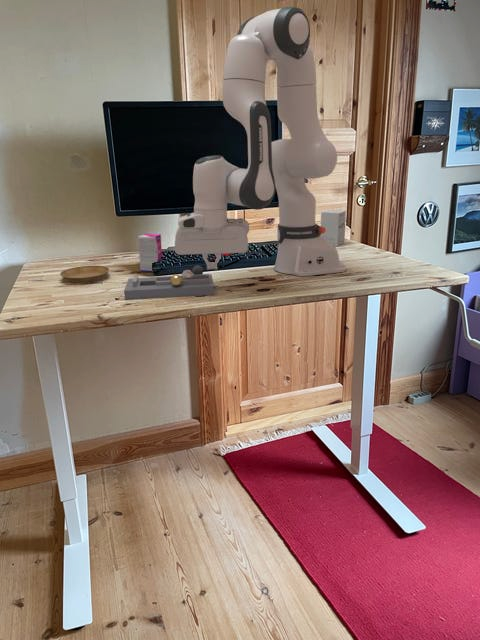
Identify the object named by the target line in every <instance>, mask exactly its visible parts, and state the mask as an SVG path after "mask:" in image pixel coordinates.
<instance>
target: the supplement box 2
mask: <svg viewBox="0 0 480 640" xmlns="http://www.w3.org/2000/svg"><path fill="white" fill-rule="evenodd" d="M346 215H347V210H343V209H342V210H341V209H339V210H338V209H327V210H324V211H321V212H320V226H323V227H324V228H325V230H326V232H324V234H321V235H320V236H322V237H323V238H324V239H325V240H327V241H328V242H329V243H330V244H332V245H333V246H334V247H335V248H337V247H339V246H341V245H343V244H345V236H346V235H345V234H346V222H347V221H346V218H347V217H346Z"/></svg>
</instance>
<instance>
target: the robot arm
mask: <svg viewBox="0 0 480 640" xmlns="http://www.w3.org/2000/svg"><path fill="white" fill-rule="evenodd" d="M310 38H311V26H310V21H309V19H308V16H307V14H306V13H305V11H303V9H302V8H299V7H296V6H284V7H282V8H276V9H271V10H268V11H267V10H266V11H265V12H264V13H261V14H259V15H257V16H254V17H250V18H247V20H246V21H244V22H243V23H242V25H240V27H239V29H238V31H237V34H236V35H235V36H234V37H232V38H231V40H230V41H229V42H228V45H227V50H226V55H225V60H224V66H223V74H222V75H223V76H222V85H221V86H222V88H221V89H222V91H221V92H222V93H221V94H222V95H221V97H222V105H223V108H225V111H226V112H227V113H228V114H229V115H230V116H231V117H232V118H233V119H235V120H236V121H238V122H239V123H240V124H241V125H242V126H243V127H244V129H245V132H246V135H247V157H248V158H247V159H248V160H247V161H248V165H247V168H241V167H238V166H236V165H235V164H234V165H233V164H232V163H230V162H228V161H227V160H226V159H225V158H224V156H222V155H207V156H204V157H200V158H199V159H197V160H196V161H195V163H194V166H193V173H192V174H193V175H192V190H193V195H194V206H193V212H191V213H189V214H186V215H182V216H180V217H179V218H178V221H177V224H178V227H177V229H176V232H175V236H174V238H175V239H174V253H175V254H177V256H181V255H185V256H187V255H202V259H203V260H204V262H205V264H206V270H218V268H219V267H217V263H218V262H219V260H220V259H221V253H239V254H241V253H242V254H243V253H244V254H245V253H247V252H248V250H249V241H248V239H249V238H248V234H249V232H250V223H249V222H248V221H247V220H246V219H244V218H242V217H241V218H228V204H231V205H235V206H242V207H246V208H249V209H253V210H255V211H256V210H258V211H259V210H263V209H265V208H266V207H268V206H269V205H270V204H271V202H272V200H273V199H274V197H275V194H277V199H278V217H279V219H278V224H277V231H276V233H277V238H276V239H277V243H278V247H277V255H276V259H275V264H274V266H273V267H274V268H273V269H274V271H275V272H278V273H282V274H287V275H288V274H289V275H293V276H298V277H308V276H309V277H310V276H317V275H318V276H319V275H327V274H334V273H343V272H345V271H347V265H346V264H345V263H344V262H342V261H341V260H340V255H339V252H338V250H337V247H334V246H333V245H332V244H330V243H329V242H328V241H327V240H325V239H324V238H323V237H322V236H320V235H321V234H324V232H326V230H325V228H324V227H323V226H321V225H320V224H317V223H316V210H317V209H316V208H317V207H316V204H317V203H316V202H317V201H316V197H315V195H314V194H313V193H312V192H311V191H310V190H309V189H308V187H307V185H306V182H305V179H312V180H315V179H320V178H325V177H328V176H329V175H331V174H332V173H333V172H334V170H335V169H336V166H337V164H338V163H337V162H338V153H337V149H336V147H335V145H334V144H333V143H332V142H331V141H330V140H329V139H328V138H327V136H326V135H325V133H324V131H323V129H322V127H321V126H322V125H321V123H320V119H319V114H318V103H317V99H318V98H317V96H318V95H317V71H316V63H315V62H316V61H315V56H314V52H313V48H312V47H311V45H310ZM269 61H273V62H274V64H275V68H276V105H277V117H278V118H279V121H280V122H282V124H284V126H286V128H287V131H288V132H289V136H290V138H281V139H276V140H273V141H272V122H271V113H270V111H269V108H268V106H267V102H266V101H267V100H266V90H265V89H266V77H267V76H266V75H267V74H266V73H267V72H266V71H267V70H266V69H267V64H268V63H269ZM210 254H211V255H215V256H216V257H217V258H216V260H215V262H210V261H209V260H208V257H209V256H208V255H210Z"/></svg>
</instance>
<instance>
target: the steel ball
mask: <svg viewBox="0 0 480 640" xmlns="http://www.w3.org/2000/svg"><path fill="white" fill-rule="evenodd" d="M181 275H182V279H183V280H191V279H192V278H193V273H192V271H191V270H190V269H185V270H183V271H182V273H181Z"/></svg>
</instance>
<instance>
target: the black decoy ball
mask: <svg viewBox="0 0 480 640" xmlns="http://www.w3.org/2000/svg"><path fill="white" fill-rule="evenodd" d="M191 270H192V271H191V272H192V273H193V275H198V274H204V268H203V266H201V265H199V264H198V265H194V266H193V267H192V269H191Z"/></svg>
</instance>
